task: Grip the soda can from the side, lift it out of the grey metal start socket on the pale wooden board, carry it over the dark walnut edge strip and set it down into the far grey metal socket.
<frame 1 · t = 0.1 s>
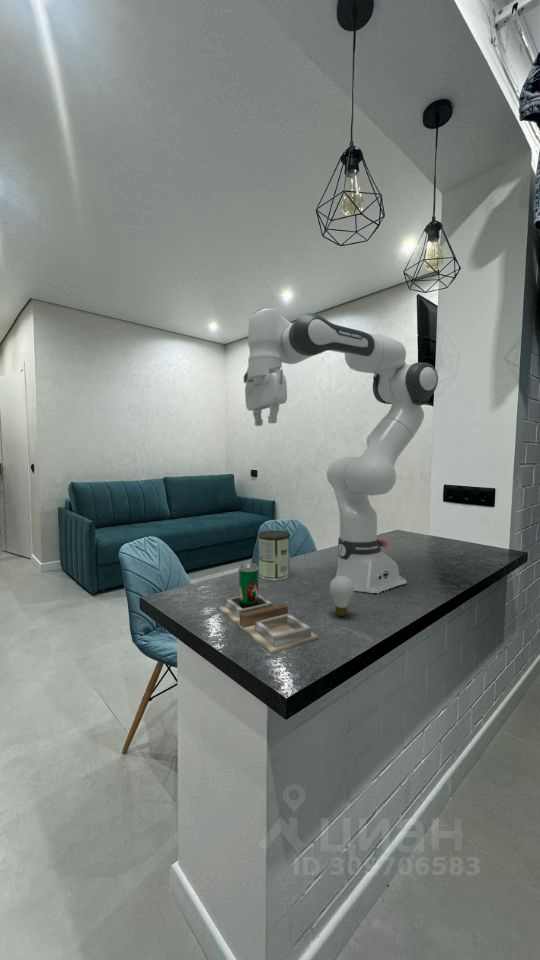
hand: (265, 424, 105), 48 cm above the countertop, tool pointing down, fingers open, 8 cm apart
soda can: (248, 612, 100), resting in socket board
socket board: (264, 622, 93), on the countertop
light bulb: (341, 616, 97), on the countertop
coffee can: (274, 576, 129), on the countertop
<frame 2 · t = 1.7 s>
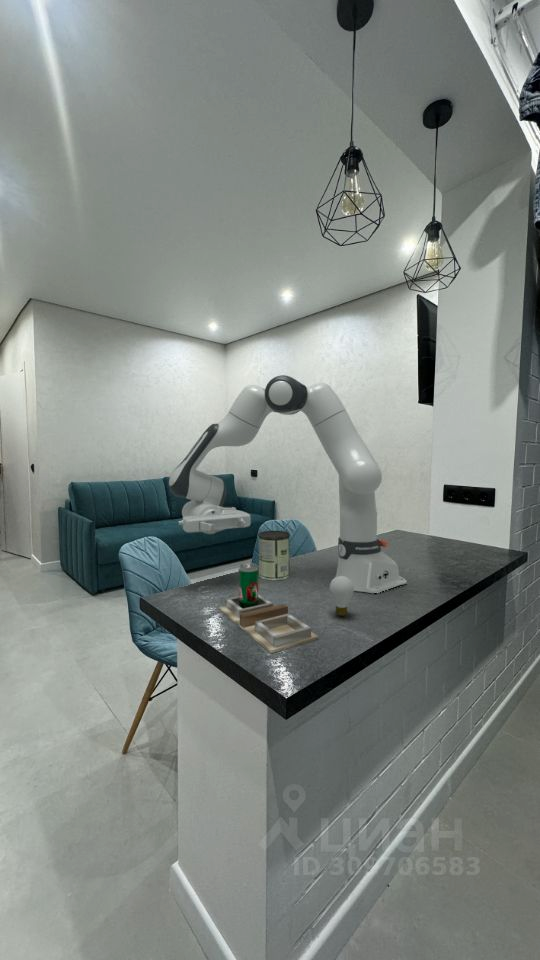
hand: (228, 526, 109), 20 cm above the countertop, tool horizontal, fingers open, 8 cm apart
nothing on the countertop moved.
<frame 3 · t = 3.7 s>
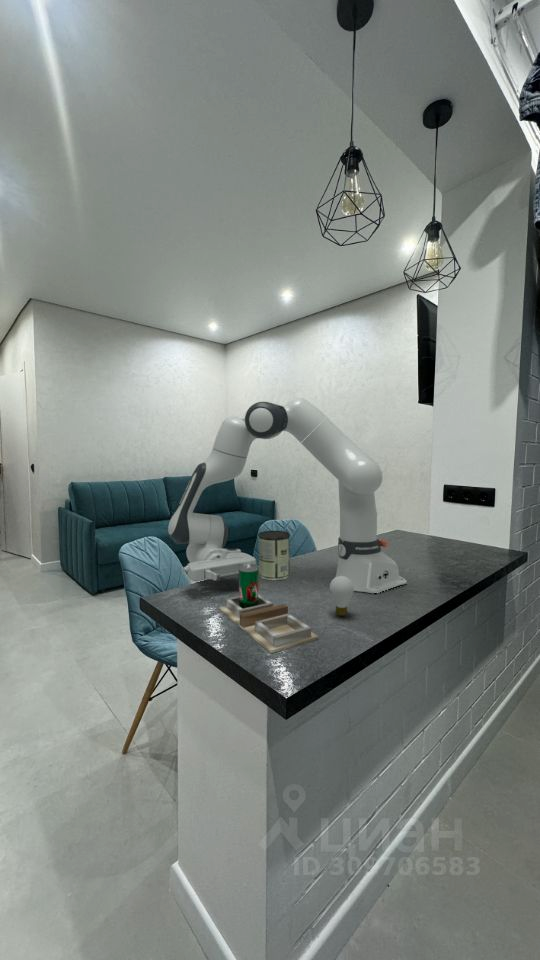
hand: (233, 574, 107), 7 cm above the countertop, tool horizontal, fingers open, 8 cm apart
nothing on the countertop moved.
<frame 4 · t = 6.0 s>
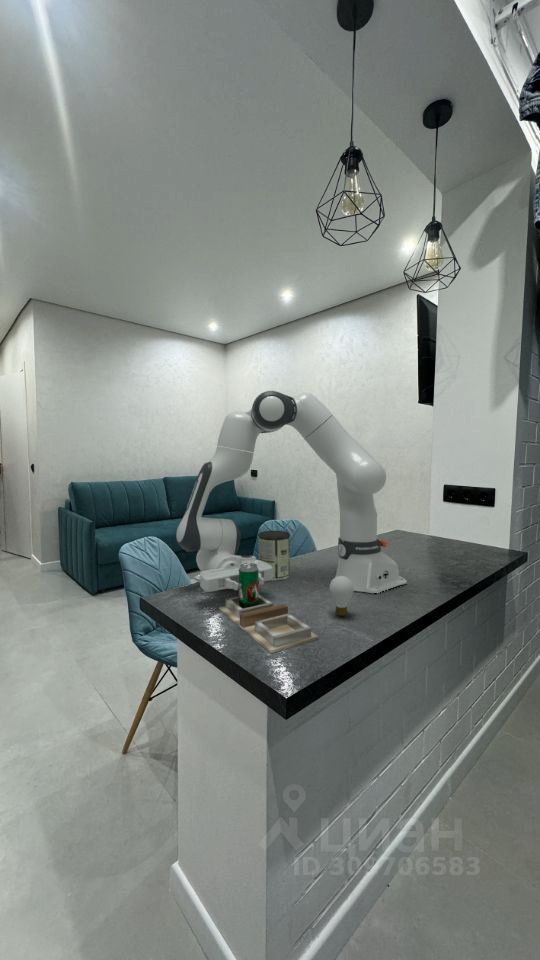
hand: (250, 584, 99), 7 cm above the countertop, tool horizontal, fingers closed on soda can, 5 cm apart
soda can: (248, 612, 100), resting in socket board, touching gripper
everything else where it was.
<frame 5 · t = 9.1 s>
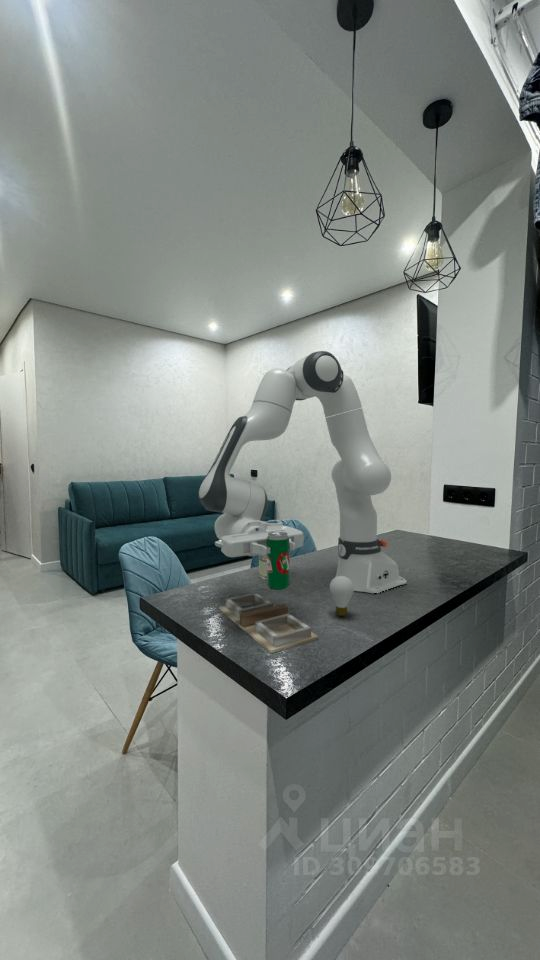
hand: (280, 549, 86), 19 cm above the countertop, tool horizontal, fingers closed on soda can, 5 cm apart
soda can: (278, 588, 87), point 10 cm above the countertop, touching gripper
everything else where it was.
when the fingers open (9 cm above the countertop, at t = 12.2 s): soda can stays where it is, resting on socket board.
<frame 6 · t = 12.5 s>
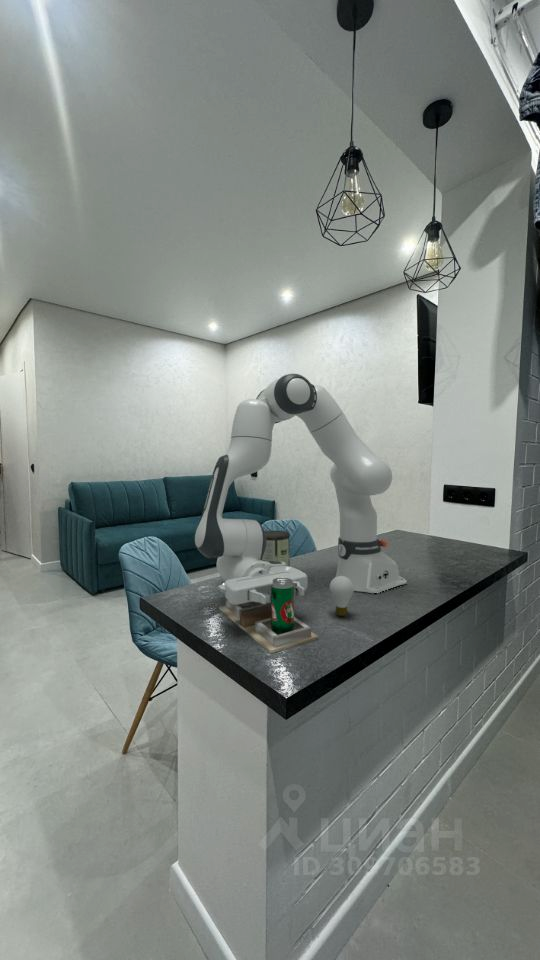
hand: (284, 596, 85), 9 cm above the countertop, tool horizontal, fingers open, 8 cm apart
soda can: (282, 634, 86), resting on socket board
everything else where it was.
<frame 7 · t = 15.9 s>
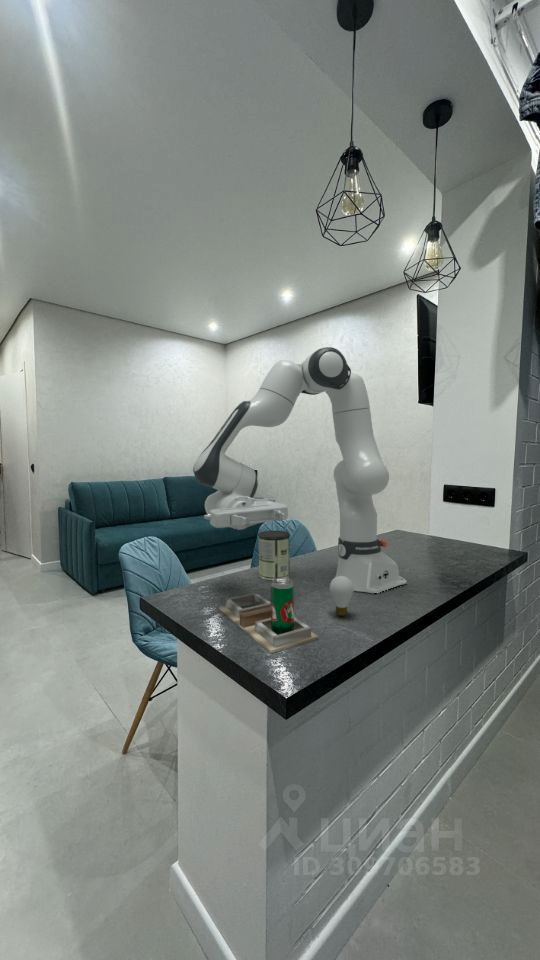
hand: (264, 519, 92), 25 cm above the countertop, tool horizontal, fingers open, 8 cm apart
nothing on the countertop moved.
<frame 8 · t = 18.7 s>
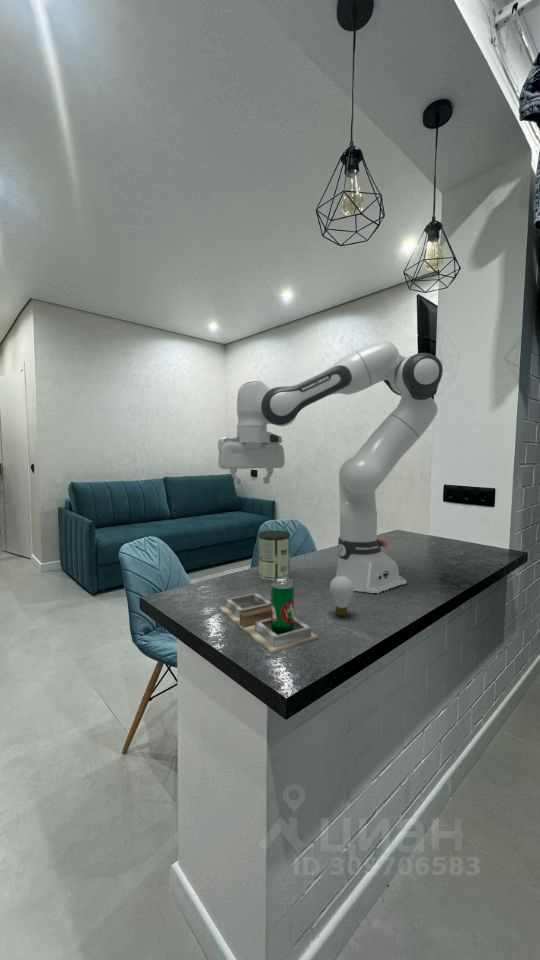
hand: (252, 483, 118), 31 cm above the countertop, tool pointing down, fingers open, 8 cm apart
nothing on the countertop moved.
at the end: soda can 0.6 cm from the target spot on the socket board, point 0.4 cm above the socket board's base; soda can tilted 0°; the gripper is holding nothing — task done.
